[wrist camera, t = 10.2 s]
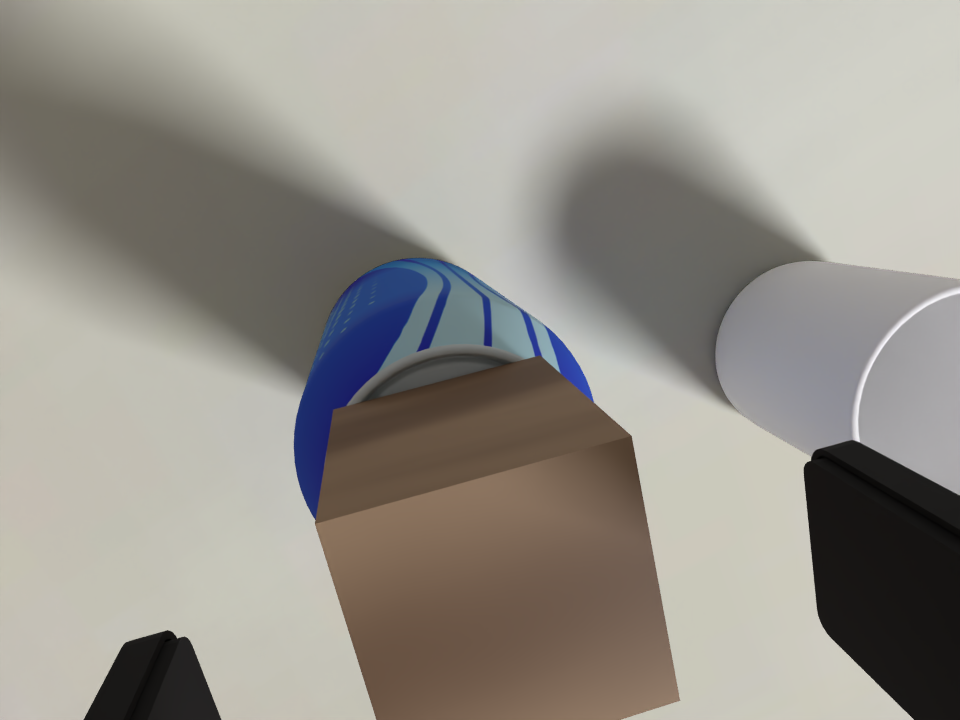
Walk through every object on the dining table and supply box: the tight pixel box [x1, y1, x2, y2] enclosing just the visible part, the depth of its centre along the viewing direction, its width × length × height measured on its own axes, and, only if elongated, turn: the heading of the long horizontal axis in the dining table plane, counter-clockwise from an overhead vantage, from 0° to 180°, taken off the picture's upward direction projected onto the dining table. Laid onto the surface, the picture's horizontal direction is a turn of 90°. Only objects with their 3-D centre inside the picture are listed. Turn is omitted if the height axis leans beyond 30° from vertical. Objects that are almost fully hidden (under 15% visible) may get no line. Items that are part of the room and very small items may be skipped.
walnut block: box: [315, 355, 680, 720], centre depth 14 cm, size 5×5×6 cm
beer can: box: [294, 258, 594, 520], centre depth 25 cm, size 8×8×16 cm
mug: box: [715, 261, 960, 495], centre depth 31 cm, size 9×12×11 cm
